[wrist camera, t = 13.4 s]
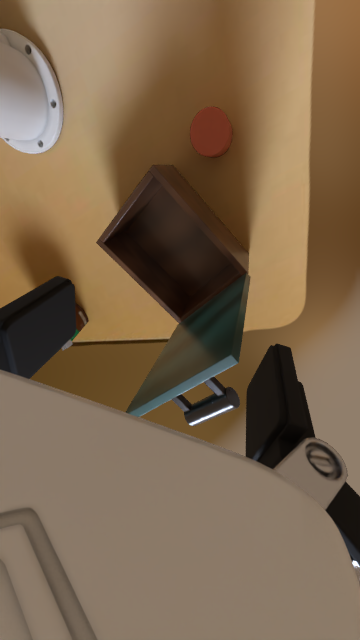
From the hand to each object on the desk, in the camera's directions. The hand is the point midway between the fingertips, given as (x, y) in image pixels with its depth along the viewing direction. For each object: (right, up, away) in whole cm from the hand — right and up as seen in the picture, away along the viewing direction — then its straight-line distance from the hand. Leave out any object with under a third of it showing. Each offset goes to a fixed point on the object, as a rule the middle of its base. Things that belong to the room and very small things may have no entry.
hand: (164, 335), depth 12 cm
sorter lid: (+2, -1, +15) cm, 15 cm away
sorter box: (+1, +13, +28) cm, 31 cm away
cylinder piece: (+5, +24, +20) cm, 32 cm away
